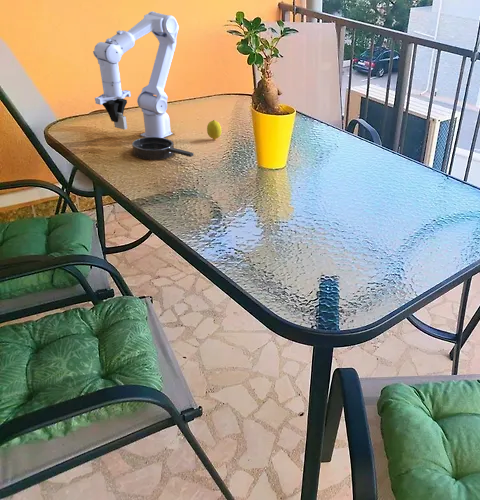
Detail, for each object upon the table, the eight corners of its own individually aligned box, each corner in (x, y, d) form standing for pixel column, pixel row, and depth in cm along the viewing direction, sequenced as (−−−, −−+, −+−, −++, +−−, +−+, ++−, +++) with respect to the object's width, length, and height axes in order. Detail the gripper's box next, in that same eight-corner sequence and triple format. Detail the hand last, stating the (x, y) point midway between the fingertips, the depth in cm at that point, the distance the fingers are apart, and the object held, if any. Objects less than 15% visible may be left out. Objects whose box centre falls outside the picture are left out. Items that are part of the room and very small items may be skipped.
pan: (150, 143, 174) (149, 134, 172) (181, 151, 171) (181, 142, 169) (124, 154, 163) (123, 144, 161) (157, 163, 160) (156, 153, 158)
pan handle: (171, 149, 165) (171, 147, 164) (193, 155, 163) (193, 152, 163) (168, 151, 163) (168, 148, 163) (190, 157, 162) (190, 154, 161)
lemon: (223, 138, 188) (223, 119, 184) (218, 143, 183) (218, 123, 179) (210, 136, 188) (209, 117, 184) (205, 140, 183) (204, 120, 179)
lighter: (127, 128, 166) (124, 105, 161) (124, 129, 164) (121, 106, 160) (111, 124, 167) (107, 101, 163) (107, 125, 166) (104, 102, 161)
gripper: (105, 87, 150) (111, 128, 157) (136, 79, 162) (140, 118, 169) (87, 83, 152) (94, 123, 159) (119, 76, 164) (124, 114, 171)
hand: (116, 120), depth 164 cm, fingers closed on lighter, 2 cm apart
